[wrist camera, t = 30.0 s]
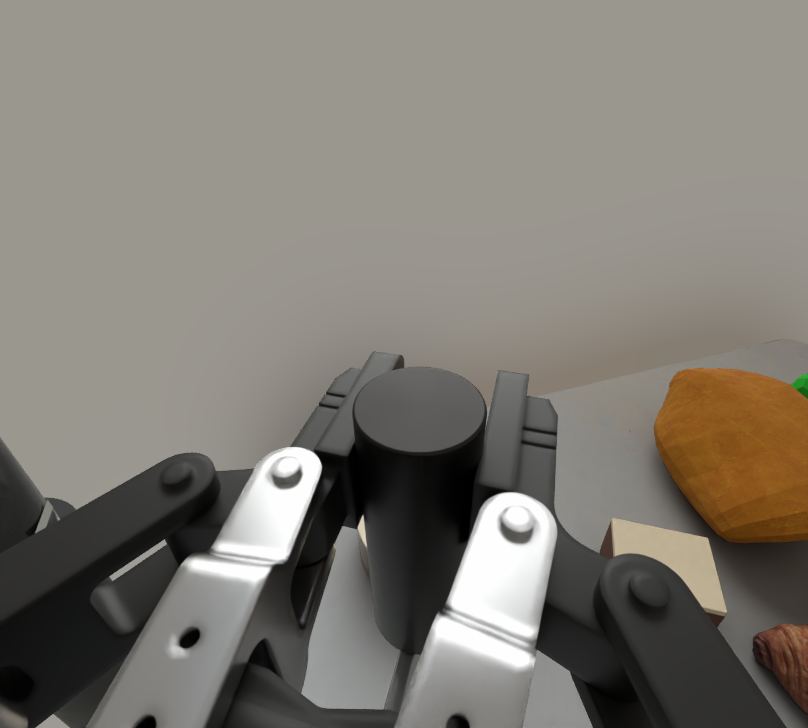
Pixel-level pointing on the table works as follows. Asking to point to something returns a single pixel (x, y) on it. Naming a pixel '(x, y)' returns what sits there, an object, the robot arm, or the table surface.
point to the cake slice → (672, 558)
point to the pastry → (786, 658)
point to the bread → (738, 452)
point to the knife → (415, 499)
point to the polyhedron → (802, 385)
